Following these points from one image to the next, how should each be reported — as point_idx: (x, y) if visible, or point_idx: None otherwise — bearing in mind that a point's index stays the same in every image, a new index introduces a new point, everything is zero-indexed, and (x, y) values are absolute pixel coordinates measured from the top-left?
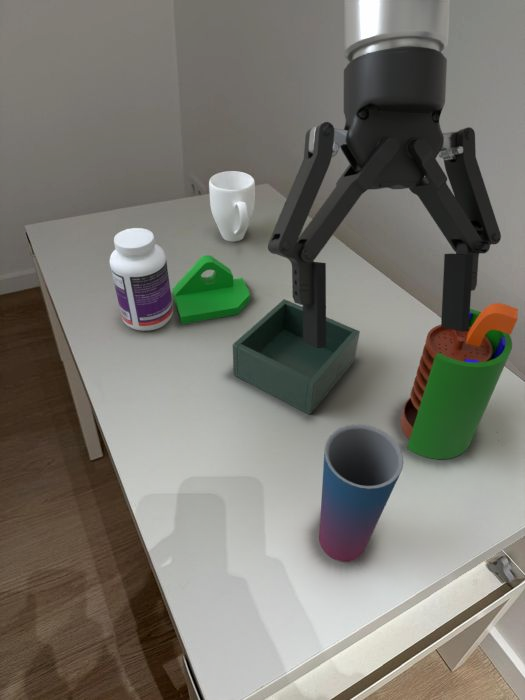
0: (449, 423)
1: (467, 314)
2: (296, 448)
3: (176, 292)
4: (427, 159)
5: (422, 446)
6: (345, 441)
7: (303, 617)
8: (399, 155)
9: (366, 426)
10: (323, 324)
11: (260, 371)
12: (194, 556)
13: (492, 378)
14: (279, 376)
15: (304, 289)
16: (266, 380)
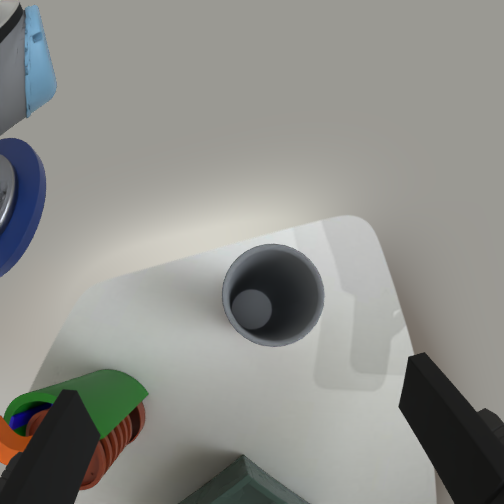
0: (105, 382)
1: (52, 411)
2: (269, 416)
3: None
4: None
5: (135, 384)
6: (277, 338)
7: (302, 250)
8: None
9: (255, 339)
10: (435, 383)
11: (295, 502)
12: (377, 314)
13: (43, 388)
14: (279, 493)
15: (498, 430)
16: (287, 493)
